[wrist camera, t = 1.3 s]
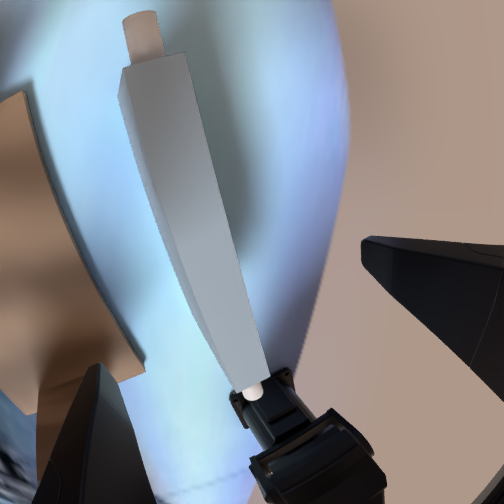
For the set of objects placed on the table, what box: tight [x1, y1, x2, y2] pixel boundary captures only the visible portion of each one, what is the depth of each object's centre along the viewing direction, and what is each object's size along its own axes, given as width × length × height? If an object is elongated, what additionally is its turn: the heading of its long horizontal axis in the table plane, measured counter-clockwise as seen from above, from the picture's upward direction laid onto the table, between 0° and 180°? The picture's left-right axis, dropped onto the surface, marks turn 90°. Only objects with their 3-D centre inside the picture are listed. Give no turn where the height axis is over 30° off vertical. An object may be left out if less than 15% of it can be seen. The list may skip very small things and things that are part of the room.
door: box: [118, 10, 270, 401], centre depth 14 cm, size 19×2×8 cm, turn 13°
